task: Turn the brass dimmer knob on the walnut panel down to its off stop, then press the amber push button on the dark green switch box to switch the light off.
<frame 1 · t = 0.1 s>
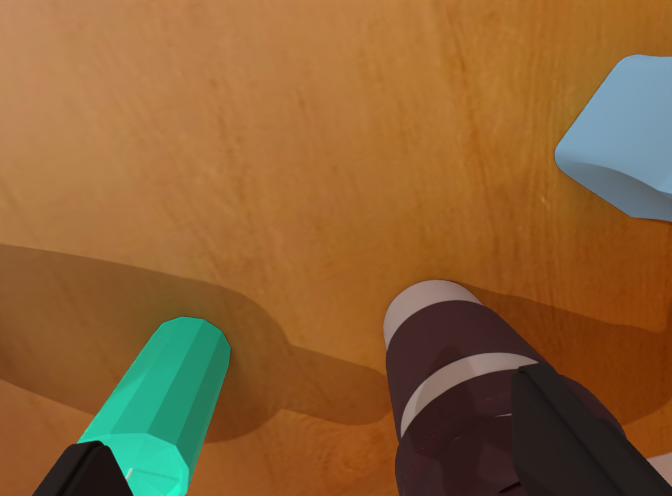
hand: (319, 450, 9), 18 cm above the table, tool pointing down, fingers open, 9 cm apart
coffee cup: (429, 319, 29), on the table
light blue open shell: (628, 137, 25), on the table
candle: (191, 349, 29), on the table
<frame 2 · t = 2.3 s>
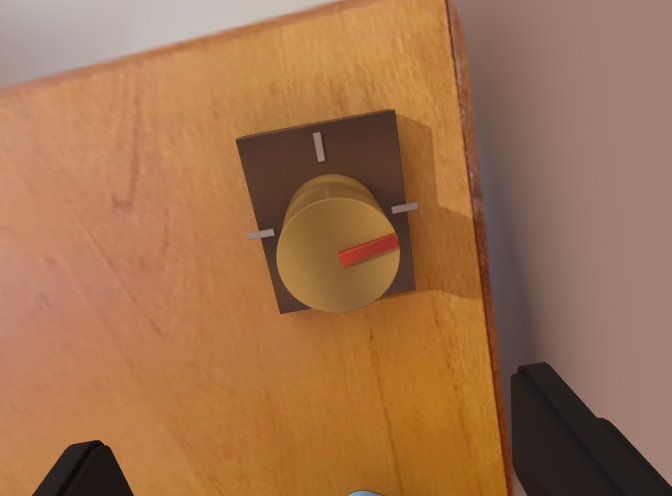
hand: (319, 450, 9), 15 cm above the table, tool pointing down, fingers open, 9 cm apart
knob: (335, 238, 18), point 5 cm above the table, hinge at 100.0°
dimmer: (331, 211, 23), on the table
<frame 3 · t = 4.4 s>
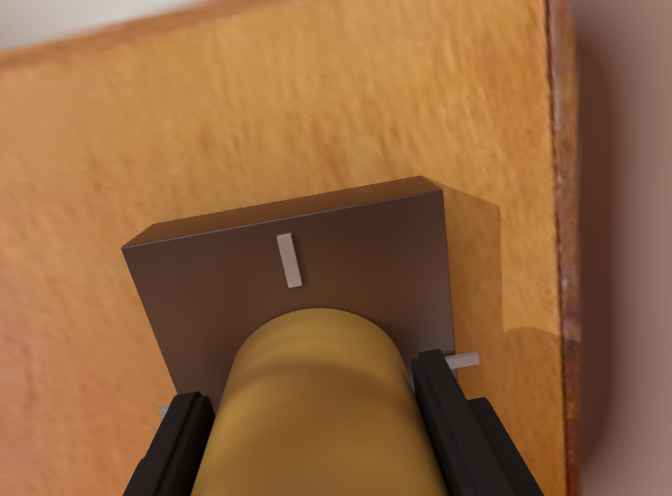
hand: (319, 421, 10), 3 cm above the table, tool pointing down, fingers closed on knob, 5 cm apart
knob: (319, 474, 8), point 5 cm above the table, hinge at 99.9°, touching gripper
dimmer: (318, 343, 13), on the table
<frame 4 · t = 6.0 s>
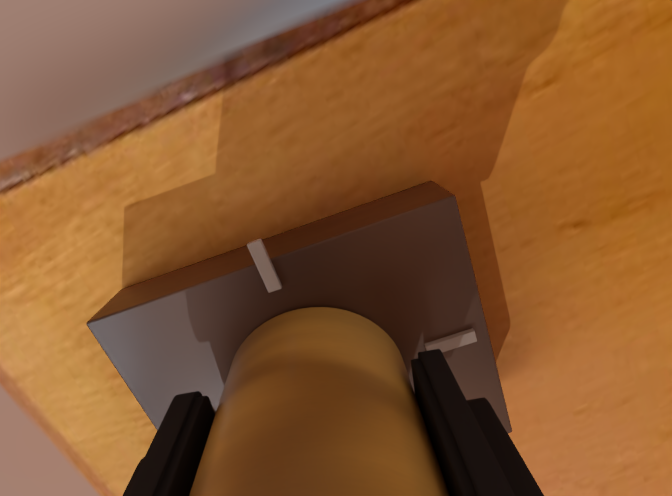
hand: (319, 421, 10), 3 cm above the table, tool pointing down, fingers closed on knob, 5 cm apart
knob: (319, 474, 8), point 5 cm above the table, hinge at -0.5°, touching gripper
dimmer: (317, 343, 13), on the table
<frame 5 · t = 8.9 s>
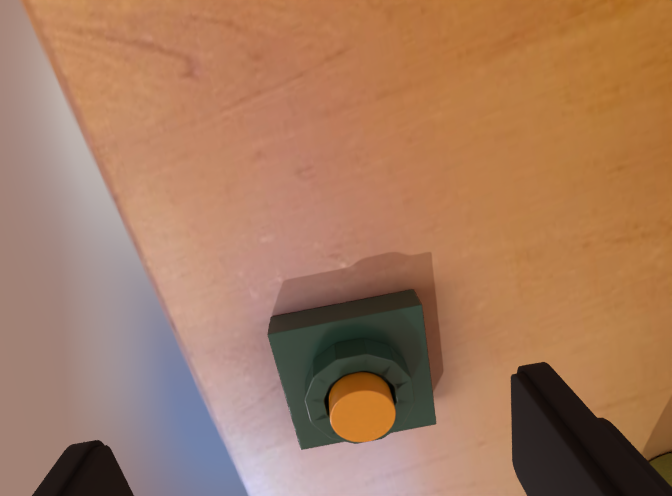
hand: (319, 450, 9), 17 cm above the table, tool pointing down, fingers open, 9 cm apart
button: (361, 406, 24), point 4 cm above the table, slide at 0.1 cm
flower pot: (667, 479, 35), on the table
switch box: (354, 362, 29), on the table
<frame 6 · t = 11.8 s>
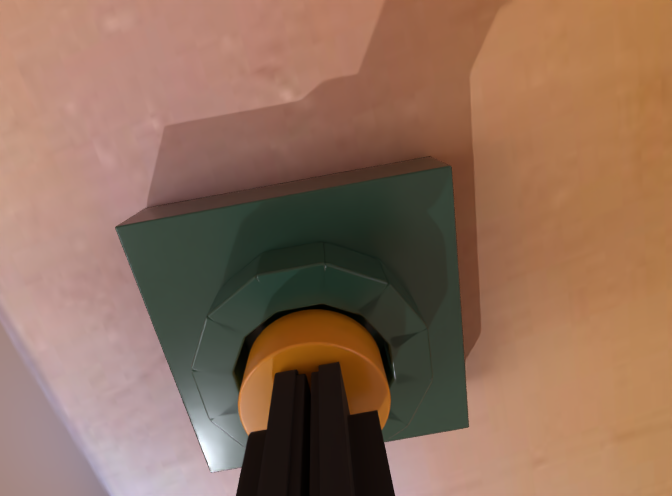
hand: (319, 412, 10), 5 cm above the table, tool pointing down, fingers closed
button: (315, 386, 11), point 4 cm above the table, slide at 0.1 cm, touching gripper
switch box: (314, 308, 15), on the table
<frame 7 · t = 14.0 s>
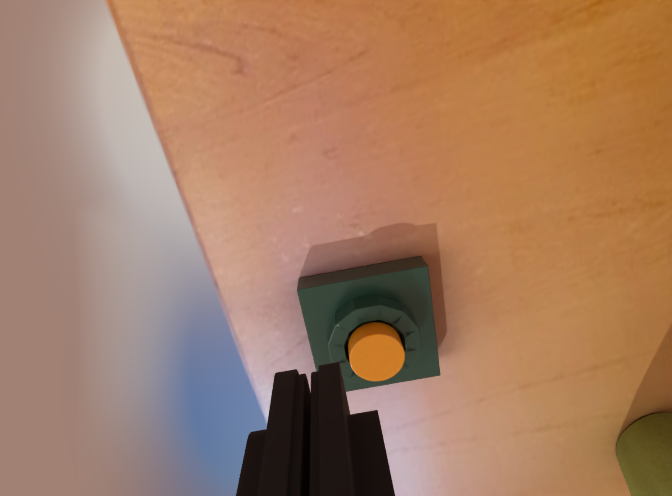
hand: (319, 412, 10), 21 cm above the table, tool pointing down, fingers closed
button: (375, 351, 29), point 4 cm above the table, slide at 0.1 cm
flower pot: (652, 440, 39), on the table
switch box: (369, 320, 33), on the table
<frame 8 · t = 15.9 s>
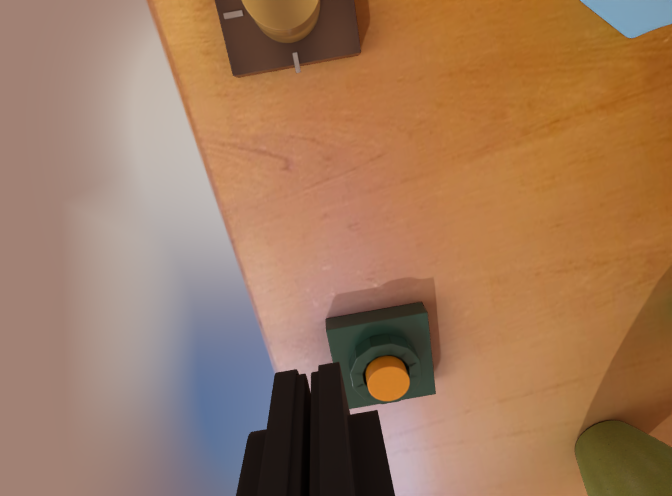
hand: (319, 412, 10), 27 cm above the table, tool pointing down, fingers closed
button: (387, 378, 38), point 4 cm above the table, slide at 0.1 cm
flower pot: (603, 442, 48), on the table
dimmer: (287, 11, 31), on the table
switch box: (379, 350, 42), on the table
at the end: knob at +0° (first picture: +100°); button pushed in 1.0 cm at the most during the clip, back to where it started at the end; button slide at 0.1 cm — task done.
